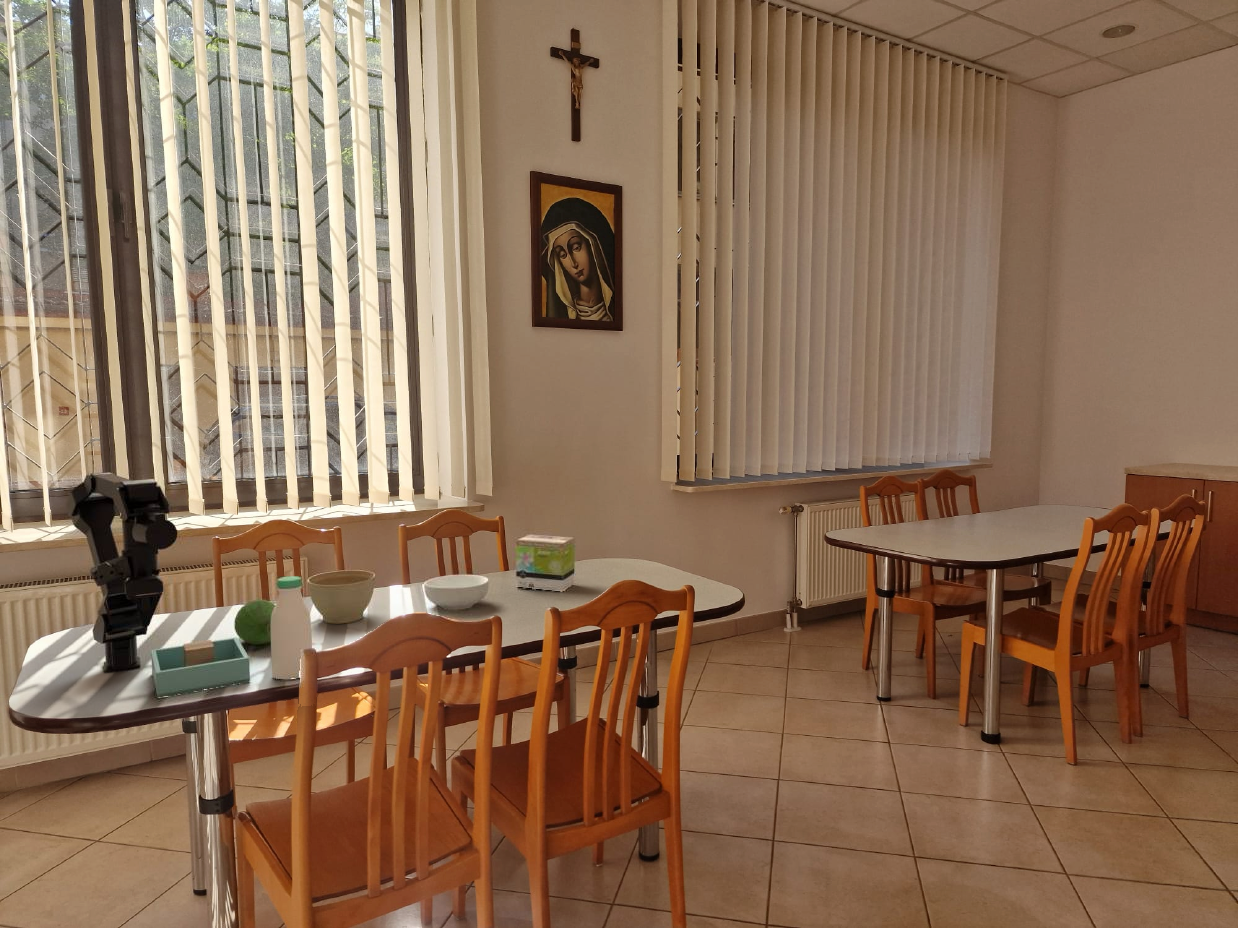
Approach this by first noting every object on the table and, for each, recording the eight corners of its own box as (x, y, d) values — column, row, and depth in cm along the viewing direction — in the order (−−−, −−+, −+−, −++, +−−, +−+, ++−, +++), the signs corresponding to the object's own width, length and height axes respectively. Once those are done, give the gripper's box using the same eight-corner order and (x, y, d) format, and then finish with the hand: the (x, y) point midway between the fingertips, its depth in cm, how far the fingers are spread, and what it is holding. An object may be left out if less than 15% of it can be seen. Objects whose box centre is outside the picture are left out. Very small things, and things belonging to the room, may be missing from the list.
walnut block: (184, 672, 163) (183, 643, 162) (212, 668, 165) (210, 639, 165) (187, 680, 159) (185, 650, 158) (215, 675, 161) (213, 646, 161)
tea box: (515, 589, 236) (514, 539, 234) (528, 581, 245) (528, 533, 244) (563, 593, 231) (563, 542, 230) (575, 585, 241) (575, 536, 239)
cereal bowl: (495, 599, 224) (495, 574, 224) (479, 615, 208) (479, 588, 207) (436, 597, 226) (435, 572, 225) (415, 613, 209) (415, 587, 209)
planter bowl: (305, 615, 208) (303, 573, 207) (369, 607, 215) (368, 567, 214) (312, 631, 194) (311, 587, 193) (381, 622, 201) (380, 580, 200)
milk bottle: (320, 674, 164) (316, 577, 163) (283, 684, 159) (279, 584, 157) (301, 665, 170) (298, 572, 168) (265, 675, 164) (261, 578, 162)
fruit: (291, 648, 181) (290, 605, 180) (243, 657, 175) (241, 612, 174) (276, 632, 193) (275, 591, 192) (231, 639, 187) (229, 597, 186)
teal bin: (152, 673, 164) (150, 650, 164) (238, 659, 173) (237, 637, 173) (157, 698, 151) (155, 672, 151) (250, 682, 160) (249, 657, 159)
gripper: (91, 540, 162) (96, 615, 164) (91, 555, 147) (96, 639, 148) (155, 534, 168) (159, 608, 170) (161, 549, 153) (165, 629, 154)
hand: (144, 620), depth 160 cm, fingers open, 9 cm apart
